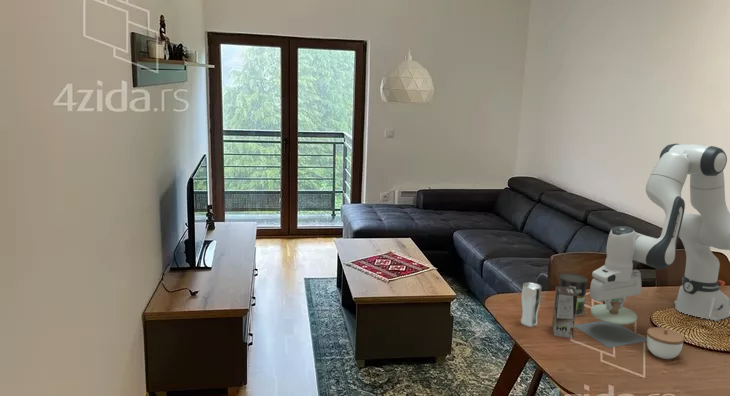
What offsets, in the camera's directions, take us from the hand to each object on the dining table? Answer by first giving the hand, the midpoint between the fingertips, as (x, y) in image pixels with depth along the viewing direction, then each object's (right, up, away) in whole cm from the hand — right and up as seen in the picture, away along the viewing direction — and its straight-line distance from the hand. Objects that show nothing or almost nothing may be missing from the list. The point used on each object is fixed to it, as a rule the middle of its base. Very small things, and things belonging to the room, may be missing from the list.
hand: (614, 308), depth 189 cm
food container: (+10, -6, +22) cm, 25 cm away
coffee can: (-8, -6, +21) cm, 23 cm away
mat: (-1, -10, +2) cm, 10 cm away
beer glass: (-28, -8, +9) cm, 30 cm away
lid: (0, -2, +1) cm, 2 cm away
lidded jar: (+10, -13, -13) cm, 21 cm away
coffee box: (-18, -9, +2) cm, 20 cm away
